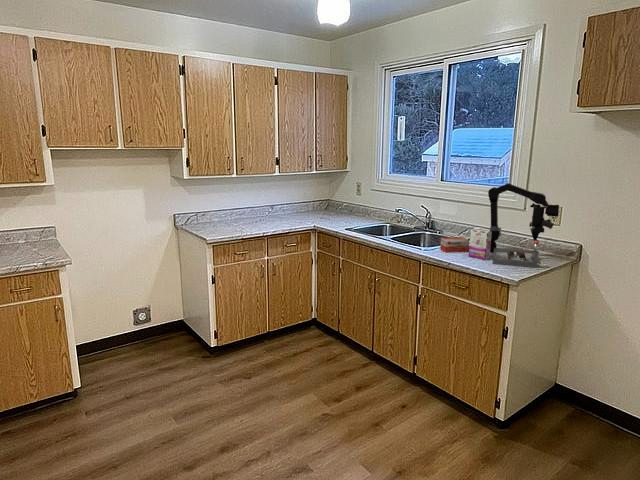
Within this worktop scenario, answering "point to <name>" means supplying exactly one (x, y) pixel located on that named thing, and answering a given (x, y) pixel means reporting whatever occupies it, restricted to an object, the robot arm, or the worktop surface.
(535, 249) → the handle
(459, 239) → the medicine box
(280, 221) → the worktop surface
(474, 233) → the candy bar box
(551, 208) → the robot arm
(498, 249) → the press bed
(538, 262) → the ram track
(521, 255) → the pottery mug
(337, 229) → the worktop surface
